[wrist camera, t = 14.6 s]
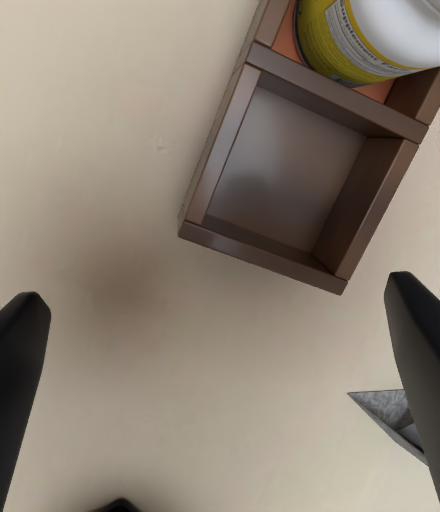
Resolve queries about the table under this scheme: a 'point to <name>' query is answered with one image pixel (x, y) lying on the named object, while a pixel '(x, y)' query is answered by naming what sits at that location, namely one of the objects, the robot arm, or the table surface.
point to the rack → (302, 158)
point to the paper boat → (392, 417)
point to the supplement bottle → (367, 38)
